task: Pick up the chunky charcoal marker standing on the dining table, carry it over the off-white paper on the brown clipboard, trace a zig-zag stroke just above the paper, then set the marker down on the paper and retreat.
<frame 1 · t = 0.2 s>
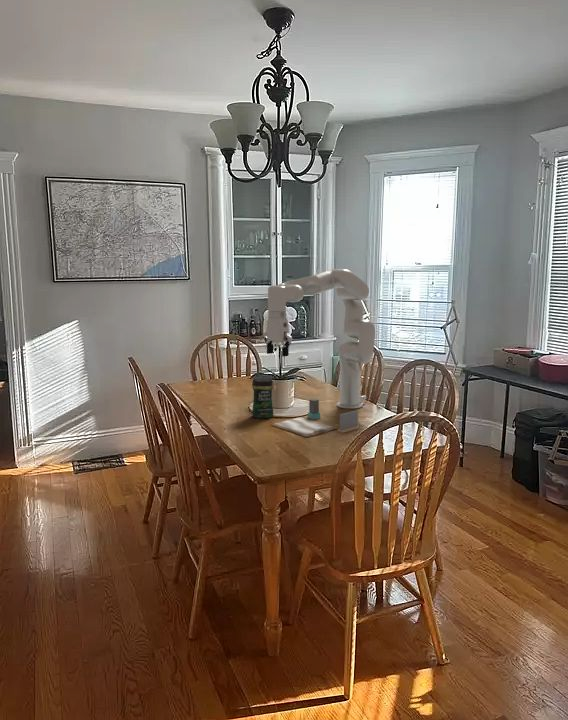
hand: (277, 354, 251), 31 cm above the table, fingers open, 9 cm apart
clipboard: (303, 427, 250), on the table
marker: (314, 417, 264), on the table
coffee jar: (263, 417, 267), on the table
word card: (348, 429, 246), on the table
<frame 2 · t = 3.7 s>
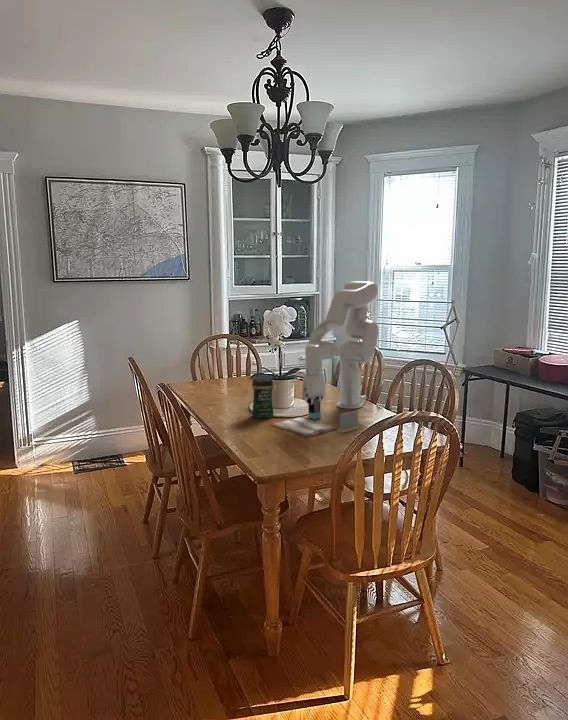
hand: (314, 411, 264), 3 cm above the table, fingers closed on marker, 3 cm apart
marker: (314, 417, 264), on the table, touching gripper
everything else where it was.
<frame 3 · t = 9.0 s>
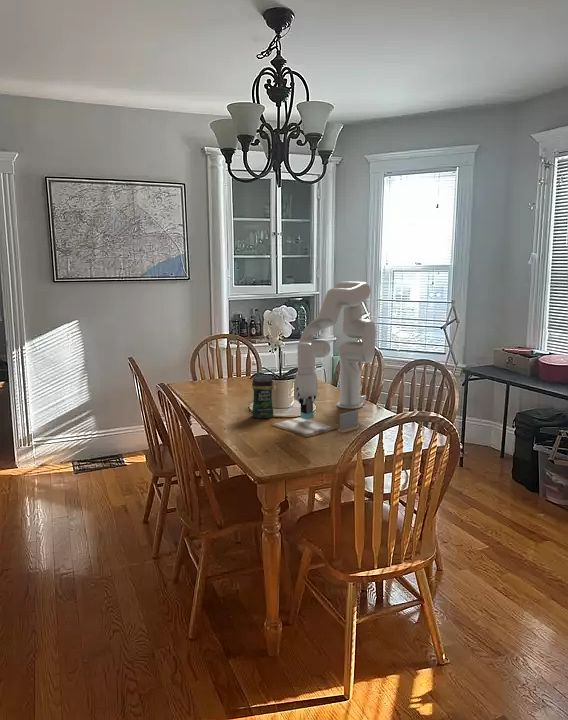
hand: (306, 411, 255), 5 cm above the table, fingers closed on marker, 3 cm apart
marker: (307, 417, 255), point 2 cm above the table, touching gripper
everything else where it was.
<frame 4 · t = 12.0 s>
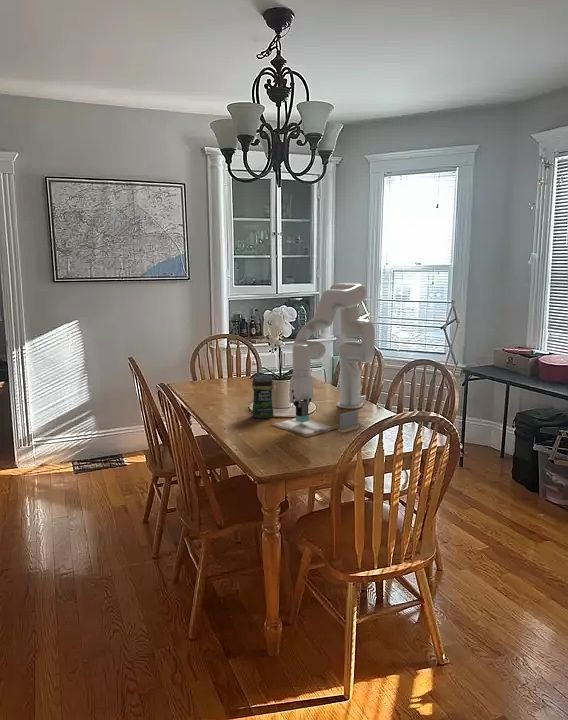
hand: (302, 414, 250), 5 cm above the table, fingers closed on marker, 3 cm apart
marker: (302, 420, 251), point 3 cm above the table, touching gripper
everything else where it was.
when the fingers open (4 cm above the table, at t = 14.8 s): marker stays where it is, resting on clipboard.
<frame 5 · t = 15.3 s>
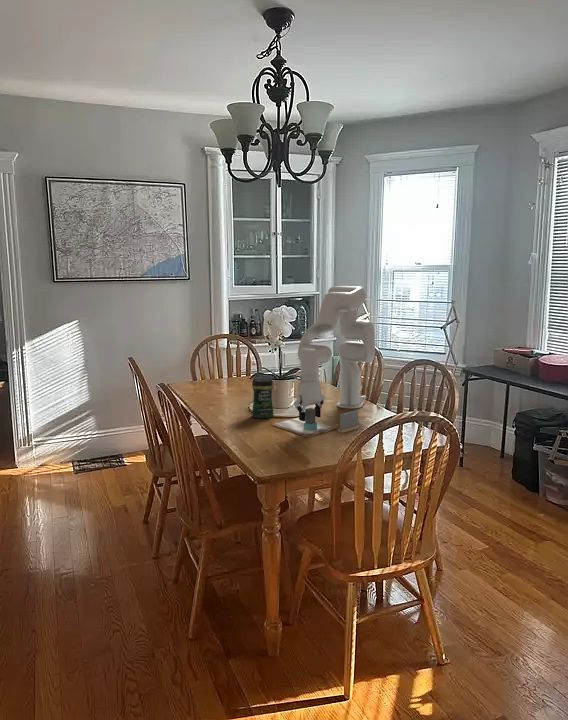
hand: (309, 418, 244), 5 cm above the table, fingers open, 8 cm apart
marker: (310, 428, 245), point 1 cm above the table, touching clipboard
everything else where it was.
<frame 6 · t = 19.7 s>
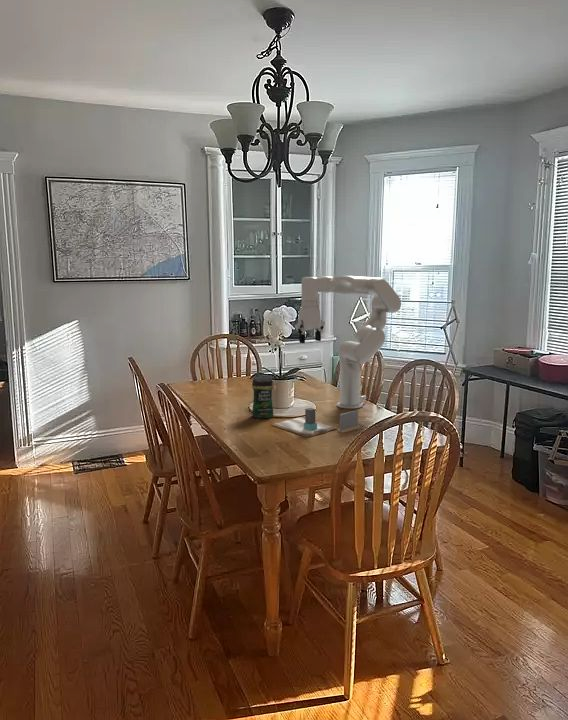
hand: (310, 341, 267), 33 cm above the table, fingers open, 9 cm apart
nothing on the table moved.
at the end: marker inside the target area on the clipboard (5.3 cm from its centre), point 0.8 cm above the clipboard's base; the gripper is holding nothing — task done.
